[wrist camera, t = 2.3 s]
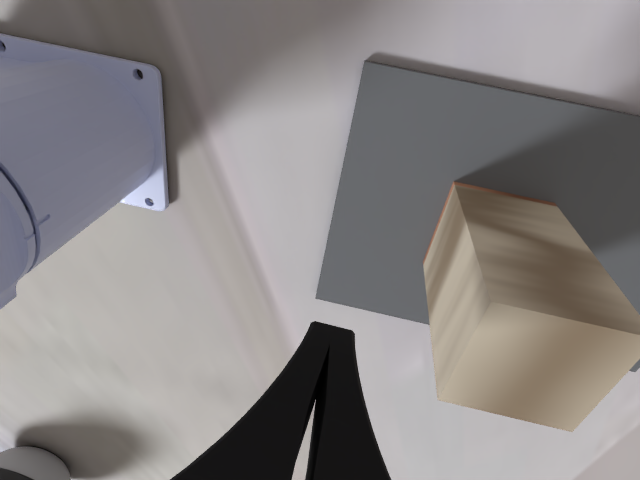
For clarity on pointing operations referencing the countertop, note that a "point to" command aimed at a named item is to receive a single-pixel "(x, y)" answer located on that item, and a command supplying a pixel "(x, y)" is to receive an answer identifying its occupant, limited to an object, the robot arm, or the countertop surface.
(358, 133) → the mat
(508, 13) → the countertop surface
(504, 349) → the block
